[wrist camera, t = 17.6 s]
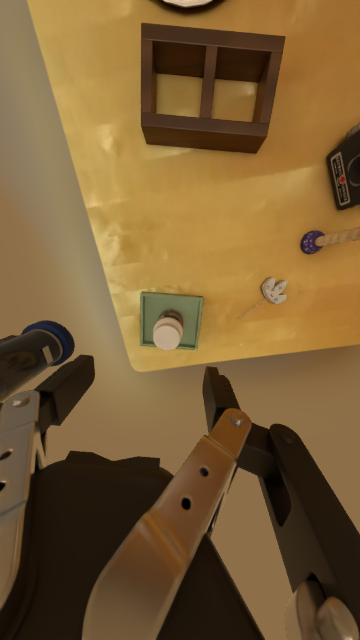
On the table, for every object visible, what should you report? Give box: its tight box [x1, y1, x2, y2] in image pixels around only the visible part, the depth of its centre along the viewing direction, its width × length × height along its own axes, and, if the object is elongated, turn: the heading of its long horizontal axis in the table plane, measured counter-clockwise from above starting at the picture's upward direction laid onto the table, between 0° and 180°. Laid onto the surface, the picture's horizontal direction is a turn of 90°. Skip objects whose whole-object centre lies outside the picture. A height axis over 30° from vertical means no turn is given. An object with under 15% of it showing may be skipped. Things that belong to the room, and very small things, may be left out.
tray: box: [140, 292, 204, 350], centre depth 38 cm, size 13×12×2 cm
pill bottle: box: [153, 309, 183, 351], centre depth 33 cm, size 6×6×10 cm
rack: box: [141, 23, 285, 153], centre depth 25 cm, size 10×19×4 cm, turn 86°
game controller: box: [239, 278, 287, 318], centre depth 36 cm, size 6×12×3 cm, turn 150°
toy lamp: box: [301, 227, 360, 254], centre depth 25 cm, size 5×5×17 cm
